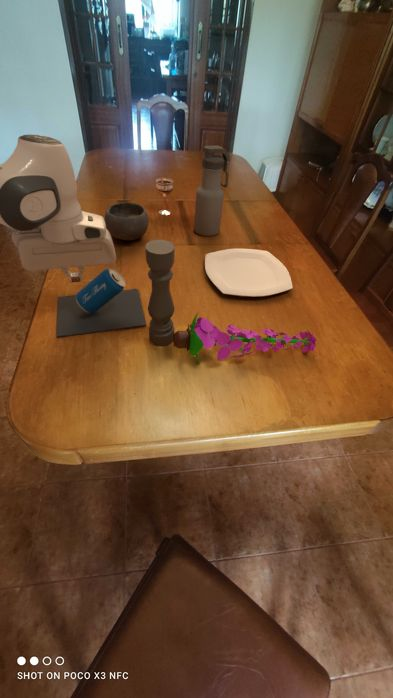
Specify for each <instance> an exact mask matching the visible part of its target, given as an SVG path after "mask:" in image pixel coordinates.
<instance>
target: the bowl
mask: <svg viewBox="0 0 393 698" xmlns="http://www.w3.org/2000/svg"><path fill="white" fill-rule="evenodd" d="M104 221H105V224H106V229H107V230H108V231H109V233H110V235H111V236H113V237H114V238H116V239H118V240H121V241H134V240H138V239H141V238H142V237H143V236H144V235H145V234H146V233H147V231H148V227H149V221H150V220H149V214H148V212H147V210H146V208H145V207H144V206H143V205H141V204H140V203H139V204H138V203H136V202H130V201H122V202H121V201H120V202H116V203H114V204H111V205H109V206H108V207H107V208H106V210H105V214H104Z"/></svg>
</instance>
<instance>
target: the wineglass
mask: <svg viewBox="0 0 393 698" xmlns="http://www.w3.org/2000/svg"><path fill="white" fill-rule="evenodd" d="M155 183H156V184H155V189H156V192H157V193H158V194H159V195H161V196H162V197H163V209H161V210H159V211H158V214H159V215H161V216H162V215H163V216H168V215H171V211H170V210H168V209H166V197H168V196H169V195H170V194H171V193H172V192H173V190H174V185H173V183H174V180H173V179H171V178H168V177H159V178H156V179H155Z"/></svg>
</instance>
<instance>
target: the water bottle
mask: <svg viewBox="0 0 393 698" xmlns="http://www.w3.org/2000/svg"><path fill="white" fill-rule="evenodd" d="M203 152H204V155H203V156H202V159H201V169H202V173H201V185H200V186H198V187H197V188H196V192H195V206H194V207H195V208H194V221H193V222H194V223H193V230H194V232H195V233H196V234H197V235H199V236H203V237H214V236H216V235H218V234H219V233H220V229H221V221H222V214H223V205H224V198H225V192H224V189H223V188H222V187H224V188H227V187H228V184H229V177H230V174H229V171H228V166H229V165H230V163H231V157H230V154H229V152H228V151H227V149H225V148H224V147H222V146H220V145H205V146H203ZM217 153H218V154H217ZM219 153H220V154H221V155H220V154H219ZM223 172H224V173H225V183H224V182H222V175H223V174H222V173H223ZM221 186H222V187H221Z"/></svg>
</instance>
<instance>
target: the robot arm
mask: <svg viewBox="0 0 393 698" xmlns="http://www.w3.org/2000/svg"><path fill="white" fill-rule="evenodd" d="M74 171H75V170H74V167H73V163H72V160H71V157H70V155H69V152H68V149H67V148H66V146H65V145H64V144H63V143H62V141H60V140H58V139H55V138H53V137H51V136H46V135H39V134H23V135H19V137H18V138H17V144H16V147H15V148H14V150H13V152H12V154H11V155H10V156H9V157H8V158H7V159H6V160H5V161H4V162H2V163H0V225H3V226H5V227H7V228H10V229H12V230H14V231H13V232H12V233H11V239H12V242H13V244H14V246H15V247H16V248H18V254H19V258H20V263H21V265H22V268H23V269H25V270H26V271H28V272H32V271H43V270H44V271H45V270H46V271H47V270H55V269H60V270H61V272H62V273H63V274H64V275H65V276H66V277H67V278H68V281H69V283H80V282H81V283H82V282H83V281H84V279H83V274H84V272H85V267H91V266H92V267H93V266H104V265H113V264H115V263H116V261H117V254H116V248H115V244H114V241H113V238H112V234H110V233H109V231H108V230H107V228H106V224H105V217H103V215H99V214H96V213H92V212H88V211H83V210H82V207H81V205H80V204H81V203H80V202H79V200H78V186H77V185H78V184H77V181H76V180H77V179H76V176H75V172H74ZM69 268H77V270H78V271H76V272H71V270H69Z"/></svg>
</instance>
